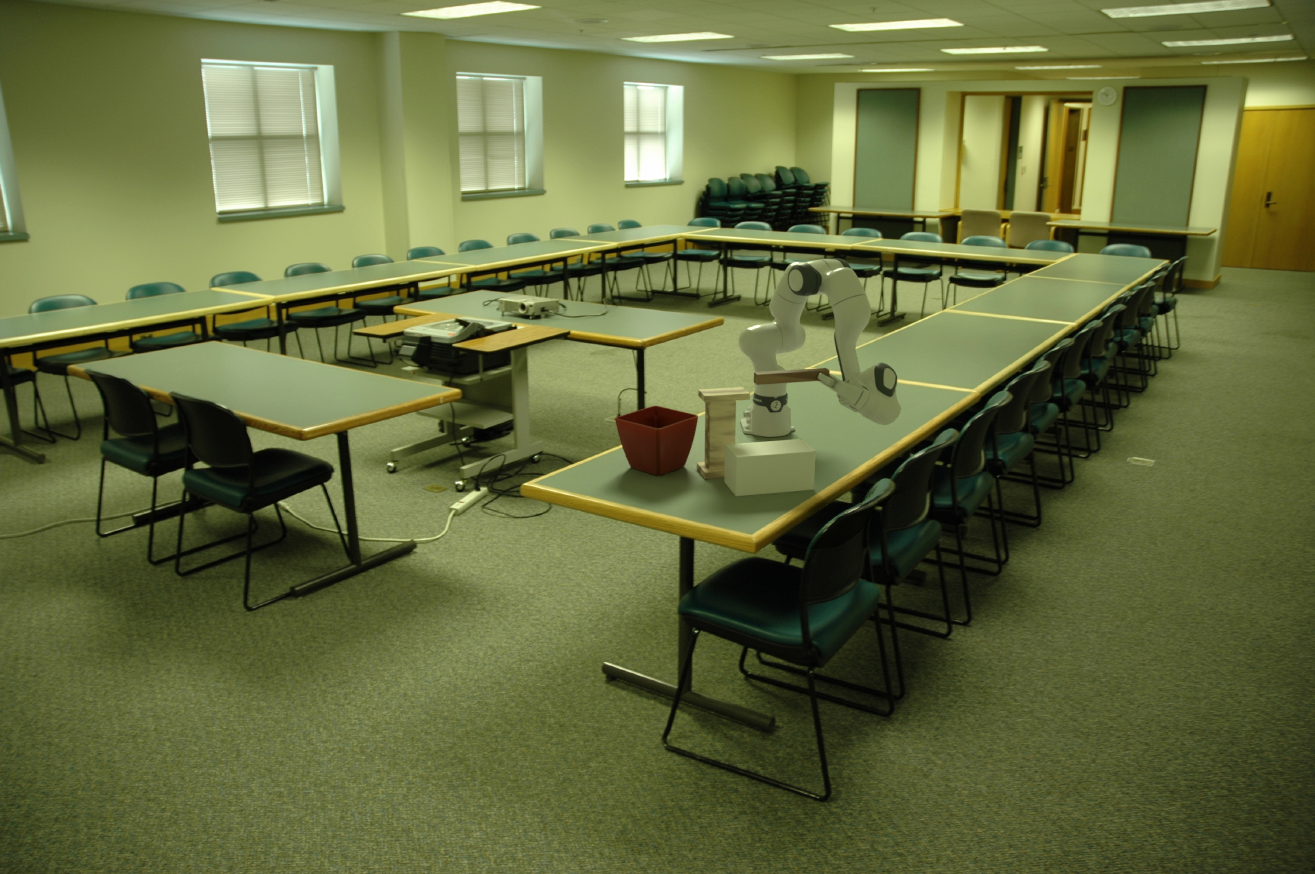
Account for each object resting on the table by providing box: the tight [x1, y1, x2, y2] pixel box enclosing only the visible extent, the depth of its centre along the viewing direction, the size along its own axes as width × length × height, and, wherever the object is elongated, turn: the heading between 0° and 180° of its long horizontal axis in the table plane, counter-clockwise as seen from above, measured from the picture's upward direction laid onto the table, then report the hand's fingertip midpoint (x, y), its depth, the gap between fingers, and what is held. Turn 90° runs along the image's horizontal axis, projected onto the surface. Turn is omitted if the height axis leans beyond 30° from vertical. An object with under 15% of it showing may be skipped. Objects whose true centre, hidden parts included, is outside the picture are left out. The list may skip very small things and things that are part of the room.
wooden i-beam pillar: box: [696, 386, 751, 480], centre depth 283 cm, size 10×14×26 cm
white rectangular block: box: [723, 438, 817, 497], centre depth 273 cm, size 12×24×12 cm, turn 102°
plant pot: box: [614, 405, 699, 477], centre depth 289 cm, size 19×19×17 cm
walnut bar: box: [753, 367, 831, 385], centre depth 266 cm, size 3×22×3 cm, turn 102°
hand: (815, 373), depth 267 cm, fingers closed on walnut bar, 3 cm apart
